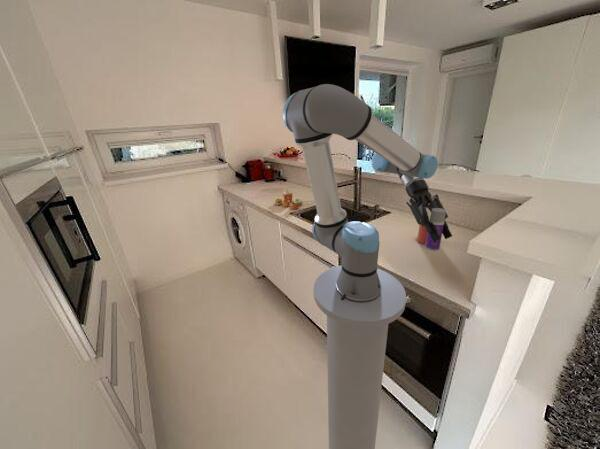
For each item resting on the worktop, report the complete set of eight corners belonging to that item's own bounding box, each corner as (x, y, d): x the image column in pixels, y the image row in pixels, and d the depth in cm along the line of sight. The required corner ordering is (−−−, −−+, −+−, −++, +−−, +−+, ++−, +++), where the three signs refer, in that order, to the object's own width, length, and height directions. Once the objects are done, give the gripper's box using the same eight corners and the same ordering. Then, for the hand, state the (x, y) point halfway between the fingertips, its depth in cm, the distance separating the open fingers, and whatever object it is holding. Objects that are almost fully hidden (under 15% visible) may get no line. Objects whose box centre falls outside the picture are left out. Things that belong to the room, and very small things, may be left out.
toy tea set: (271, 204, 185) (270, 191, 181) (287, 199, 194) (286, 187, 190) (294, 211, 167) (293, 197, 163) (310, 205, 176) (309, 192, 172)
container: (430, 251, 90) (437, 212, 84) (422, 245, 94) (428, 208, 88) (442, 249, 90) (449, 211, 85) (433, 244, 95) (440, 207, 89)
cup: (426, 246, 112) (429, 228, 108) (413, 239, 119) (415, 222, 115) (440, 242, 114) (443, 225, 111) (426, 236, 121) (429, 219, 118)
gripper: (426, 186, 101) (453, 238, 93) (390, 192, 96) (416, 247, 87) (438, 176, 94) (470, 230, 86) (401, 181, 89) (430, 239, 81)
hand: (443, 238), depth 87 cm, fingers closed on container, 5 cm apart
